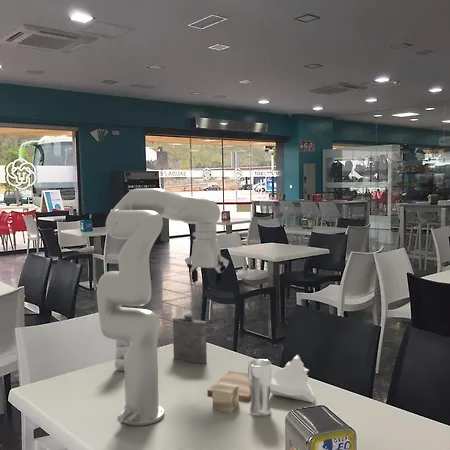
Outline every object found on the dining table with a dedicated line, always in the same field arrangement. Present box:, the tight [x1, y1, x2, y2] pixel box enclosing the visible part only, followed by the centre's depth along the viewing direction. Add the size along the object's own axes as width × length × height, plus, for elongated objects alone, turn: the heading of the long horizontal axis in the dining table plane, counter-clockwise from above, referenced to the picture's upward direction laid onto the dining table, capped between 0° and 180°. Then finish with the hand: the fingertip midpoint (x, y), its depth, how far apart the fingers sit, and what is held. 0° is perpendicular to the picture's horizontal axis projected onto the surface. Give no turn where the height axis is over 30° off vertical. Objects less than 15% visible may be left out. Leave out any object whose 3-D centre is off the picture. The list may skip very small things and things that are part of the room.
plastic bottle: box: [114, 340, 131, 372], centre depth 188 cm, size 6×7×20 cm
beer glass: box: [247, 358, 273, 418], centre depth 151 cm, size 7×7×15 cm
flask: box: [172, 313, 208, 365], centre depth 196 cm, size 4×14×18 cm, turn 62°
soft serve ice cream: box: [270, 354, 315, 404], centre depth 163 cm, size 12×15×14 cm
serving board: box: [207, 370, 251, 402], centre depth 171 cm, size 18×14×2 cm
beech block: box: [211, 383, 240, 413], centre depth 156 cm, size 6×6×6 cm
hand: (207, 282), depth 189 cm, fingers open, 9 cm apart
